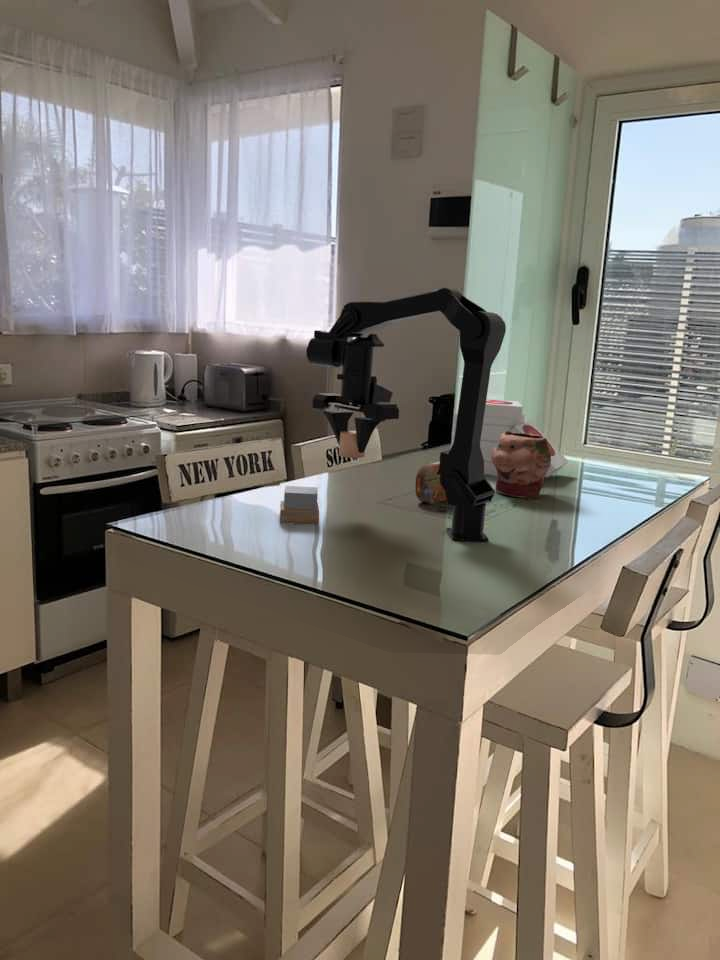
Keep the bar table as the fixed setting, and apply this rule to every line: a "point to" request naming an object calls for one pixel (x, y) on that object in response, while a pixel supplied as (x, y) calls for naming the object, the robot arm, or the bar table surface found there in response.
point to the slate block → (300, 498)
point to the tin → (429, 484)
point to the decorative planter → (521, 464)
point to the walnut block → (299, 515)
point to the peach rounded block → (349, 445)
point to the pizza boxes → (509, 418)
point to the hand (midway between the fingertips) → (351, 450)
